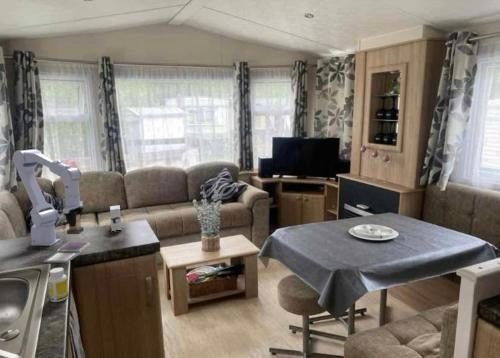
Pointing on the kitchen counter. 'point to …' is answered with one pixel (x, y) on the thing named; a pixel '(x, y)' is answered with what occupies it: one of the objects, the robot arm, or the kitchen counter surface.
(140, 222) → the kitchen counter surface
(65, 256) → the marked square
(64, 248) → the ink pad
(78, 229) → the stamp
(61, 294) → the supplement bottle
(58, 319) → the kitchen counter surface
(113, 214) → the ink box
